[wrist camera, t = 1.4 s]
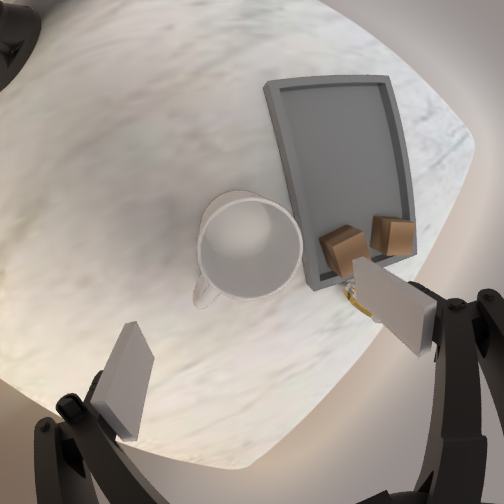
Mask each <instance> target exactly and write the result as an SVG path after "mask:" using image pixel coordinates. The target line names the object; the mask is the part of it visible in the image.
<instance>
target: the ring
mask: <svg viewBox="0 0 504 504" xmlns="http://www.w3.org/2000/svg"><path fill="white" fill-rule="evenodd" d="M344 294H345V296H346V297H347V299H348V300H349V301H350V302H351V303H352V304H353V305H354V306H355V307H356V308H357V309H358V310H360V311H361V312H363V313H364V314H366V315H367V316H369V317H371V318H372V320H373V321H374V322H376V323H381V322H380V321H379V320H378V319H377V318H376V317H375V316H373V315H372V314H371V313H370V312H369V311H368V310H367V309H366V308H365V307H363V306H362V305H361V304H360V303H359V302H358V301H357V300H356V299H355V298H356V291H355V284H351V283H348V284H347V285H346V286H345V288H344ZM354 297H355V298H354Z"/></svg>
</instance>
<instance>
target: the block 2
mask: <svg viewBox="0 0 504 504" xmlns="http://www.w3.org/2000/svg"><path fill="white" fill-rule="evenodd" d="M414 231H415V223H414V222H411V221H408V220H404V219H401V218H398V217H384V216H373V221H372V231H371V239H370V247H371V248H373V249H375V250H377V251H379V252H381V253H383V254H385V255H387V256H392V255H411V252H412V245H413V238H414Z"/></svg>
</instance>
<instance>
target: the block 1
mask: <svg viewBox="0 0 504 504" xmlns="http://www.w3.org/2000/svg"><path fill="white" fill-rule="evenodd" d="M319 241H320V244H321V247H322V250H323V253H324V256H325V258H326V261H327V264H328V267H329V268H330V269H332V270H333V271H334V272H335V273H336V274H338V275H339V276H340V277H341V278H345V277H347V276H349V275H350V274H352V273H354V270H353V261H352V260H354V259H357V258H360V257H365V258H367V259H368V260H370V261H371V258H370V254H369V250H368V246H367V242H366V239H365V235H364V232H363V231H362V230H359V229H357V228H354V227H352V226H350V225H347V224H346V225H344V226H342V227H340V228H338V229H336V230H334V231H332V232H330V233H328V234H326V235H324V236H322V237H319Z"/></svg>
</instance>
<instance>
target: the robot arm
mask: <svg viewBox="0 0 504 504" xmlns="http://www.w3.org/2000/svg"><path fill="white" fill-rule="evenodd" d="M40 28H41V19H40V16H39V14H38V13H37V12H35V11H34V10H33V9H32V8H30V7H28V6H19V5H14V4H8V3H3V2H2V1H0V91H1V90H2V89H3V88H4V87H5V86H6V85H7V84H8V83H9V82H10V81H11V80H12V79H13V78H14V77H15V76H16V74H17V73H18V72H19V71H20V69H21V68H22V66H23V65H24V64H25V62H26V60H27V59H28V57H29V55H30V54H31V52H32V50H33V48H34V46H35V44H36V41H37V39H38V36H39V33H40ZM352 261H353V270H354V280H355V291H356V300H357V301H358V302H359V303H360V304H361V305H362V306H363V307H365V308H366V309H367V310H368V311H369V312H370V313H371V314H372V315H373V316H375V317H376V318H377V319H378V320H379V321H380V322H381V323H382V324H383V325H384V326H386V327H387V328H388V329H389V330H390V331H391V332H392V333H393V334H394V335H395V336H396V337H397V338H398V339H400V340H401V341H402V342H403V343H404V344H405V345H406V346H407V347H408V348H409V349H410V350H411V351H412V352H413V353H414V354H415V355H417V356H418V357H420V356H422V355H424V354H425V353H427V352H429V351H431V345H432V341H434V342H435V343H436V344H437V348H436V354H435V359H434V362H436V370H435V386H434V399H433V407H432V415H431V423H430V430H429V435H428V441H427V446H426V451H425V456H424V461H423V465H422V469H421V473H420V475H419V478H418V480H417V483H416V485H415V488H414V491H407V492H399V493H393V494H389V493H388V491H387V490H385V491H383V492H381V493H379V494H377V495H375V496H372V497H370V498H368V499H366V500H364V501H361V502H359V503H357V504H493V503H481V497H482V491H483V484H484V477H485V469H486V458H487V438H486V436H482V434H481V388H480V377H479V366H478V362H479V364H480V366H481V369H482V371H483V374H484V376H485V379H486V381H487V384H488V386H489V389H490V392H491V395H492V398H493V401H494V404H495V407H496V410H497V413H498V416H499V420H500V423H501V427H502V430H503V435H504V299H503V298H502V297H501V295H500V294H499V293H498V292H497V291H495V290H493V289H483V290H480V291H479V292H478V296H477V301H474V302H470V303H467V302H465V301H464V300H462V299H459V298H452V299H448V300H446V299H444V298H442V297H441V296H439V295H438V294H436V293H434V292H433V291H430V290H429V289H428V288H425V287H424V286H423V285H421V284H419V283H416V282H412V281H409V282H405V281H404V280H402V279H401V278H399V277H397V276H396V275H394V274H392V273H391V272H389V271H387V270H385V269H384V268H382V267H380V266H379V265H377V264H375V263H374V262H372V261H370V260H368V259H367V258H365V257H360V258H357V259H354V260H352ZM153 362H154V356H153V354H152V352H151V350H150V348H149V346H148V344H147V342H146V340H145V338H144V336H143V334H142V332H141V330H140V328H139V326H138V324H137V321H134V322H130V323H126V324H125V325H124V327H123V329H122V331H121V333H120V335H119V338H118V340H117V342H116V344H115V346H114V348H113V350H112V352H111V355H110V357H109V359H108V361H107V363H106V366H105V368H104V370H101V371H99V372H98V374H97V375H96V376H95V377H94V379H93V381H92V383H91V384H92V385H91V386H90V388H89V391H88V393H87V395H86V397H85V400H84V402H82V400H81V399H80V398H79V396H78V395H77V394H74V393H70V394H67V395H65V396H63V397H62V398H60V400H59V401H58V402H57V404H56V411H57V412H58V413H59V414H60V415H61V417H62V418H63V419H64V420H65V422H61V423H58V424H57V423H56V422H55V421H54V420H53V419H52V418H50V417H45V418H43V419H41V420H39V421H38V423H37V424H36V426H35V430H34V467H35V468H34V469H35V485H36V494H37V503H38V504H99V502H98V499H97V495H96V492H95V489H94V485H93V482H92V478H91V474H90V471H91V473H92V475H93V477H94V478H95V480H96V482H97V483H98V485H99V487H100V488H101V490H102V491H103V493H104V495H105V496H106V498H107V499H108V501H109V502H110V504H169V502H168V501H167V500H166V499H165V498H164V497H163V496H162V495H161V494H160V493H159V492H158V491H157V490H156V489H155V488H154V487H153V486H152V485H151V484H150V482H149V481H148V480H147V479H146V478H145V477H144V476H143V475H142V473H141V472H140V471H139V470H138V469H137V467H136V466H135V465H134V464H133V462H131V460H130V459H129V457H128V456H127V455H126V453H125V452H124V451H123V449H122V448H121V447H120V446H119V444H118V443H117V442H116V441H115V439H116V434H117V435H118V436H119V437H120V439H121V440H122V441H123V442H125V441H137V439H138V434H139V428H140V423H141V417H142V412H143V407H144V402H145V397H146V393H147V388H148V383H149V379H150V375H151V370H152V366H153Z"/></svg>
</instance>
